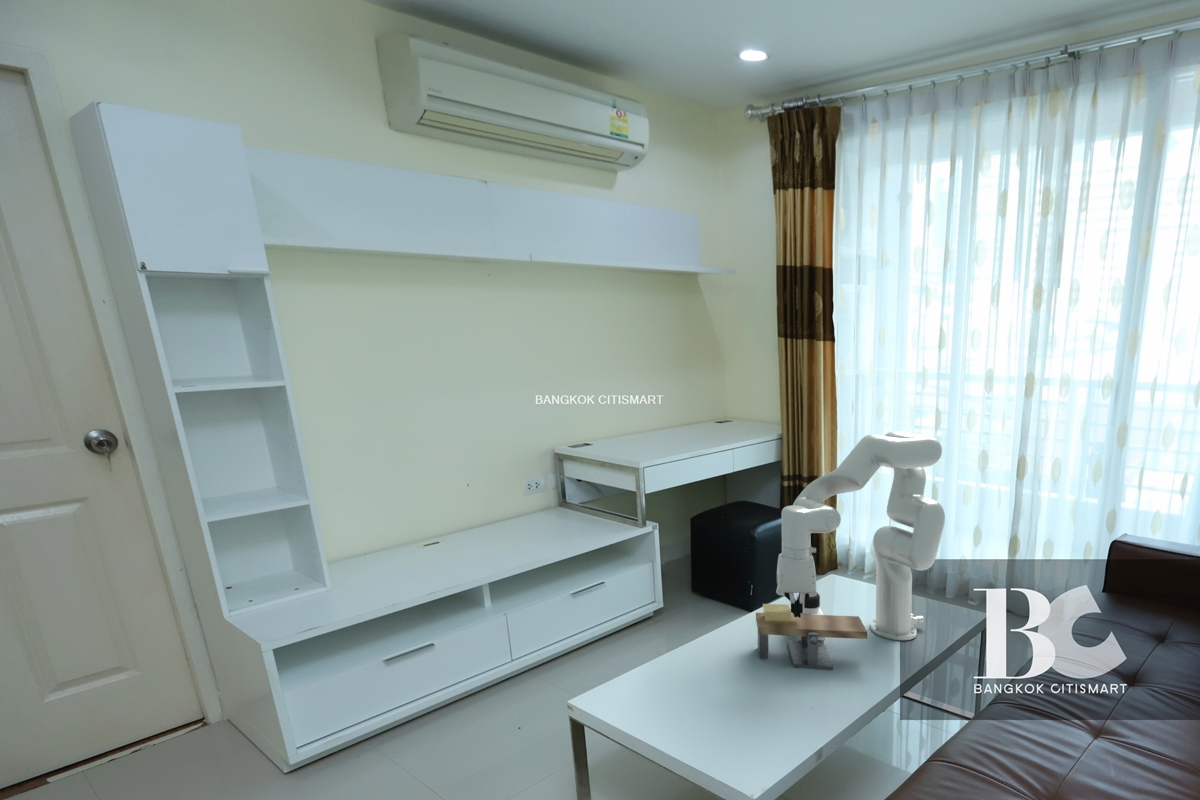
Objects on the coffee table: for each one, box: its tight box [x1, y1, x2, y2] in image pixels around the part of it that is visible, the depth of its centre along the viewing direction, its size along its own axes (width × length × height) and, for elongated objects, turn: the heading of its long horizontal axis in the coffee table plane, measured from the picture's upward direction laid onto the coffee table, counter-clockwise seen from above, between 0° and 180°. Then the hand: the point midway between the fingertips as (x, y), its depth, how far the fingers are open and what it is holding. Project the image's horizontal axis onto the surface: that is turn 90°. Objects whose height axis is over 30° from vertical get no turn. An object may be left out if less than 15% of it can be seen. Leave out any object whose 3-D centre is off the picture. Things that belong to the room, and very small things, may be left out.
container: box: [791, 592, 826, 641], centre depth 177 cm, size 8×8×13 cm
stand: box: [757, 613, 834, 671], centre depth 166 cm, size 19×14×10 cm
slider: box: [762, 603, 792, 625], centre depth 166 cm, size 7×5×4 cm
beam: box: [755, 612, 868, 640], centre depth 165 cm, size 28×9×2 cm, turn 80°
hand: (796, 615), depth 165 cm, fingers closed
